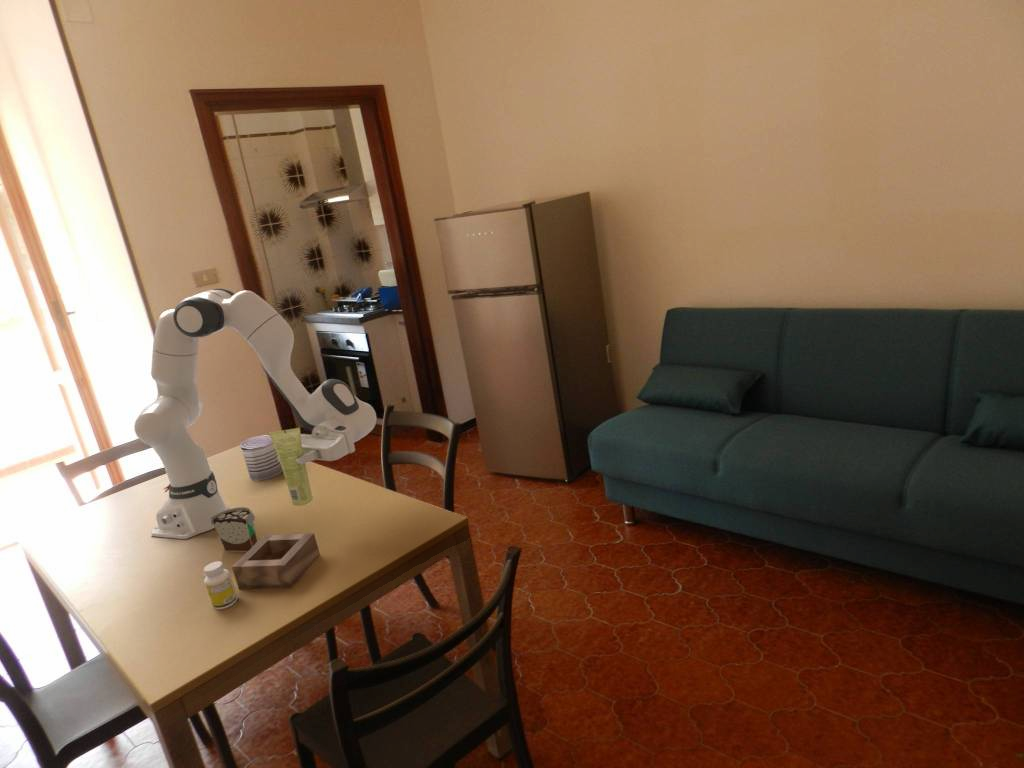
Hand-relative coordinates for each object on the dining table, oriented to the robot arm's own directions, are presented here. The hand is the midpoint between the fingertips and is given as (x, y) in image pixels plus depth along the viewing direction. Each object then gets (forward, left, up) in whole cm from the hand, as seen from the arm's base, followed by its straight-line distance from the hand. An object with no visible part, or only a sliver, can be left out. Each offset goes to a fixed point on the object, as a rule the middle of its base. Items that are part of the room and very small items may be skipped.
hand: (288, 460), depth 173 cm
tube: (0, +1, -12) cm, 12 cm away
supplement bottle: (-9, -24, -24) cm, 35 cm away
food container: (-21, +1, -24) cm, 32 cm away
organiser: (-3, -12, -24) cm, 27 cm away
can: (-44, +48, -24) cm, 69 cm away
